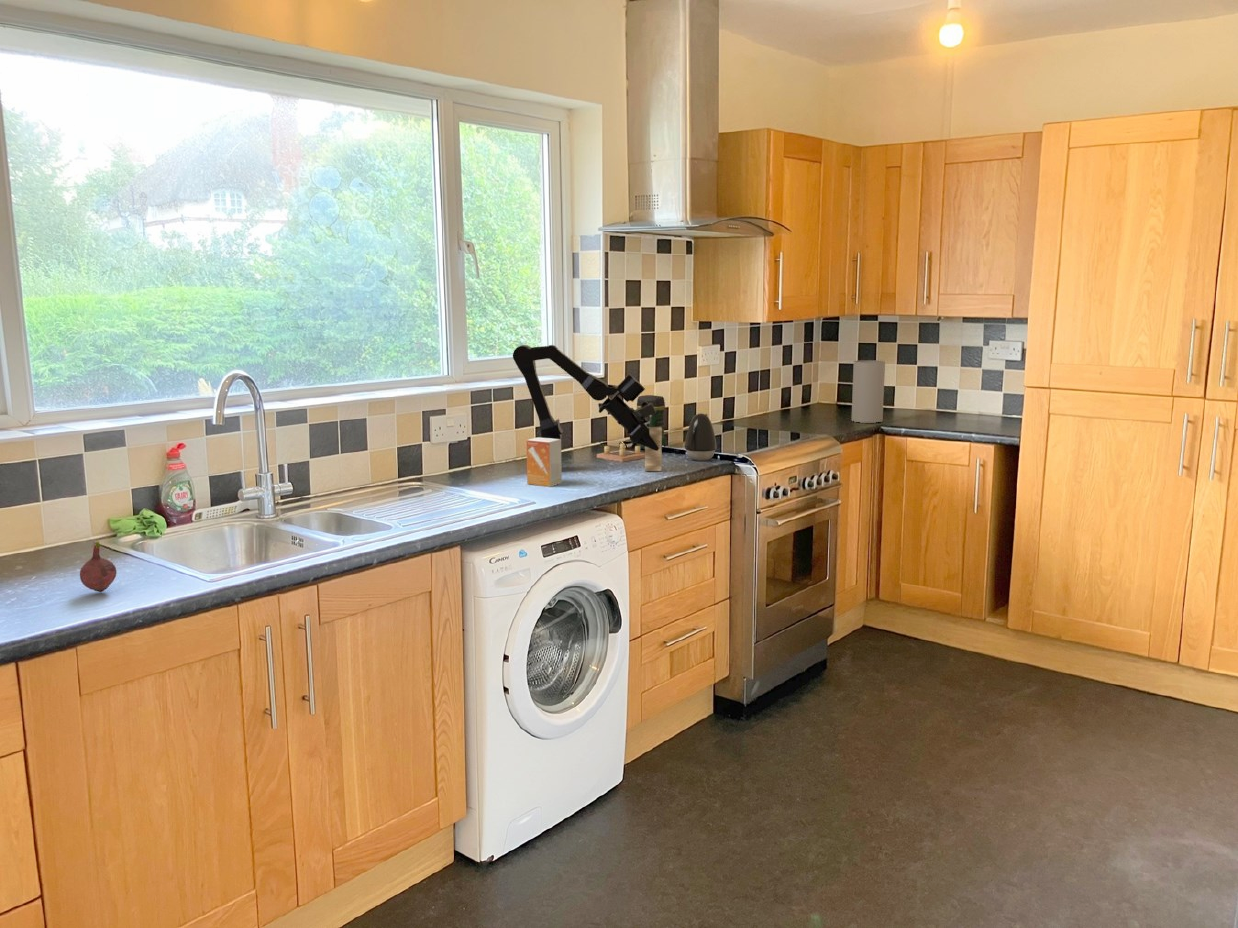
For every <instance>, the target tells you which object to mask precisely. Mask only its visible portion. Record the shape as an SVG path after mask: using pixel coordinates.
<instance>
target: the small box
mask: <svg viewBox="0 0 1238 928" xmlns="http://www.w3.org/2000/svg"><path fill="white" fill-rule="evenodd" d="M562 471H563V470H562V438H561V439H553V438H542V437H541V436H540V437H533V438H529V439H526V483H527V485H534V486H540V487H541V486H542V487H547V488H552V487H554V485H555V486H558V485H560V484H562V483H563V482H562V480H563V479H562V476H563V473H562ZM557 484H558V485H557ZM551 486H552V487H551Z"/></svg>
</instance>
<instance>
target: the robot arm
mask: <svg viewBox="0 0 1238 928" xmlns="http://www.w3.org/2000/svg"><path fill="white" fill-rule="evenodd" d="M512 358H513V360H514V363H515V364H516V367H517V368H518V370H519V371H520V373H521V375H522V376H523V377H524V379H525V383H526V386H527V389H528V391H529V395H530V397H531V399H532V403H533V407H534V409H535V412H536V414H537V417H538V421H539V430H540V431H539V432H540V438H553V439H561V440H562V438H563V432H564V430H563V428H562V427H561V423H560V418H557V419H556V420H555V418H554V417H553V416H552V413H551V411H550V408H549V404H548V402H547V399H546V397H545V394H544V390H543V387H542V385H541V382H540V380H539V377H538V373H537V366H536V365H537V364H536V361H540V360H548V359H549V360H550V361H552V362H553V363H554V364H556V365H557V366H558V367H559V368H561V369H562V370H563V371H564V372H566V374H568V375H569V376H570V377H572V378H573V379H574V380H576V381H577V383H579V384H580V386H581V387H583V388H582V389H584V390H585V392H586V393H587V394H588V395H589V396H590V398H592V400H594V401H597V402H598V404H597V405H598V412H599V414H601V413H603V411H606V412H607V413H608V414H609V415H610V416H611V417H612V418H614V420H615V421H616V422H617V424H618V425H620V426H621V427H622V428H623V429H625V431H626V432H627V434H628V435H629V440H630V441H631V442H632V443H633V444H635V443H636V444H637V443H638V444H641V445H643V446H646V447H648V448H651V449H653V450H656V451H657V450H658V449H659V447H658V446H657V444H656V443H655V442H654V440H653V439H652V437H651V436H650V434H649V428H648V427H649V423H648V424H647V425H646V424H645V423H647V422H648V421H647V420H646V419H645V418H646V417H648V416H650V415H654V414H656V411H655V409H654V406H653V404H652V403H649V404H648V403H647V402H646V401H644V402H642V403H641V407H640V408H638V409H637V408H636V409H634V408H633V407H630V406H629V405H628V404H627V403H628V402H631V403H633V402H634V401H635V400H637V399H638V397H639V396H641V394H642V393H643V392H644V391H645V390H646V387H645V386H643V384H642V383H641V382H640V381H638V380H637V379H636V378H635V377H634V376H632V374H630V373H628V374H627V375H626V376H625V378H624V379H623V380H622V381H621V382H620V383H619V384H618V385H615V384H614V385H613V384H608V383H607V382H605V380H602V379H600V378H599V377H597V376H595V375H593V374H591V373H589V372H587V371H586V370H585V369H583V368H582V367H581V366H579V364H577V363H576V362H575V361H574V360H572V359H571V358H570V357H568V356H567V355H566V354H565V353H564V352H562V351H561V350H560V349H559V348H558V347H557V346H556V345H554V344H550V345H544V346H543V345H542V346H533V347H532V346H529V345H527V344H522V345H518V347H516V348H515V349H514V350H513V352H512ZM610 396H613V397H610ZM603 400H604V401H603ZM599 401H602V403H600V402H599Z"/></svg>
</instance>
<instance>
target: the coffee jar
mask: <svg viewBox="0 0 1238 928" xmlns="http://www.w3.org/2000/svg"><path fill="white" fill-rule="evenodd" d="M636 400H637V401H636V409H638V408H640V407H641V403H642V402H644V401H646V402H647V403H648V404H649V403H652V404H653V406H654V409H655V411H656V414H654V415H650V416H648V417H646V418H645V419H646V420H647V421H648V422H647V423H645V424H646V425H647V424H648V423H649V427H662V445H665V446H666V439H665V437H666V436H665V425H664V412H665V409H666V402H665V398H664V397H663V396H661V395H652V394H651V395H649V394H645V395H639V396H638V397H637V398H636ZM636 446H640V449H641V450H645V446H643V445H641V444H638V443H636Z"/></svg>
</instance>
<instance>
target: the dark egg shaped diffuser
mask: <svg viewBox="0 0 1238 928" xmlns="http://www.w3.org/2000/svg"><path fill="white" fill-rule="evenodd" d="M684 449H685V452H686V455H687V457H688V458H690V459H691V460H693V461H696V462H697V461H698V462H699V461H700V462H705V461H709V460H711V459H712V458H713V457H714V454H715V452H716V450H717V439H716V434H715V431H714V426H713V424H712V421H711V419H710V417H709V415H708V413H702V412H700V413H697V414H695V415H694V416H693V417H692V418H691V421H690V423H689V426H688V429H687V433H686V436H685V443H684Z"/></svg>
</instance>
